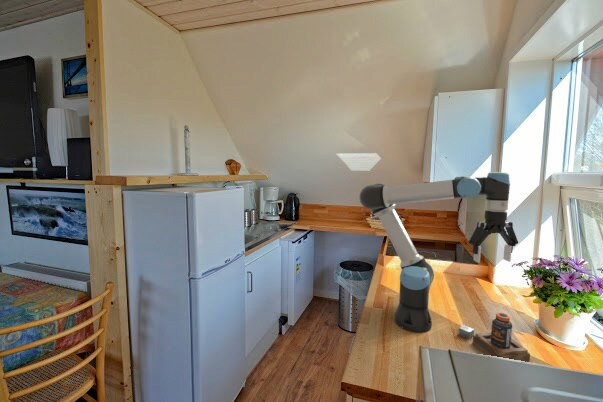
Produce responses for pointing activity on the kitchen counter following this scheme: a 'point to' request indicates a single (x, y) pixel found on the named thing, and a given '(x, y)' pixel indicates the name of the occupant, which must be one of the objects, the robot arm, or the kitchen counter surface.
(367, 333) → the kitchen counter surface
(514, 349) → the stand
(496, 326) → the pill bottle
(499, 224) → the robot arm
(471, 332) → the block
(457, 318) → the kitchen counter surface
